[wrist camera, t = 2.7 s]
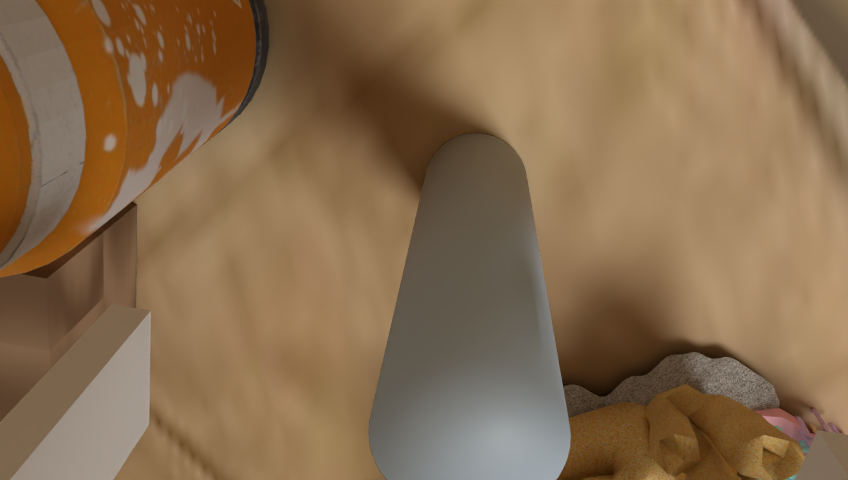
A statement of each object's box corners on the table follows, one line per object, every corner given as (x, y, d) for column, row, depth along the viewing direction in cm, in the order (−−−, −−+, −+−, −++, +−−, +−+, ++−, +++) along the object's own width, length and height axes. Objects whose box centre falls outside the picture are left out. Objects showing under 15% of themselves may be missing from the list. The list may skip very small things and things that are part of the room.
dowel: (515, 237, 30) (545, 532, 16) (417, 220, 30) (356, 498, 16) (536, 143, 29) (592, 372, 14) (433, 124, 29) (383, 335, 14)
